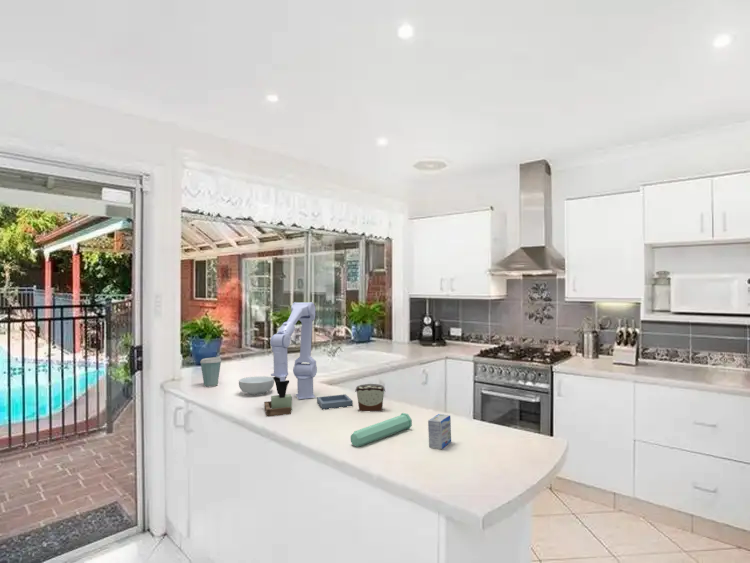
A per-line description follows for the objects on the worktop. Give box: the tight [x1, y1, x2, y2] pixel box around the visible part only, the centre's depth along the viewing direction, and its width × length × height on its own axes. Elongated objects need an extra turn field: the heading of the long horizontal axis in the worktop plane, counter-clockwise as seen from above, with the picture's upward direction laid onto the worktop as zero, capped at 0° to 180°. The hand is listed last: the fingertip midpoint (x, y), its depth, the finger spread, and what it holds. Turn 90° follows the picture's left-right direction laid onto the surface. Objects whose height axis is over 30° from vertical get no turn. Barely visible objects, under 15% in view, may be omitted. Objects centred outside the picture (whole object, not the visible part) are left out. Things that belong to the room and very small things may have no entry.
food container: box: [354, 383, 386, 413], centre depth 183 cm, size 12×6×10 cm, turn 84°
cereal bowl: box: [238, 375, 275, 396], centre depth 217 cm, size 17×17×7 cm
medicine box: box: [427, 413, 452, 450], centre depth 141 cm, size 8×4×9 cm, turn 148°
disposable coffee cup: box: [199, 356, 222, 388], centre depth 236 cm, size 11×11×15 cm
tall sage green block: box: [270, 393, 293, 411], centre depth 185 cm, size 4×8×6 cm, turn 108°
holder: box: [263, 400, 292, 417], centre depth 185 cm, size 14×10×2 cm
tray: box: [316, 393, 354, 410], centre depth 192 cm, size 12×13×2 cm
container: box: [350, 412, 413, 448], centre depth 150 cm, size 6×6×25 cm
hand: (281, 395), depth 185 cm, fingers open, 7 cm apart
